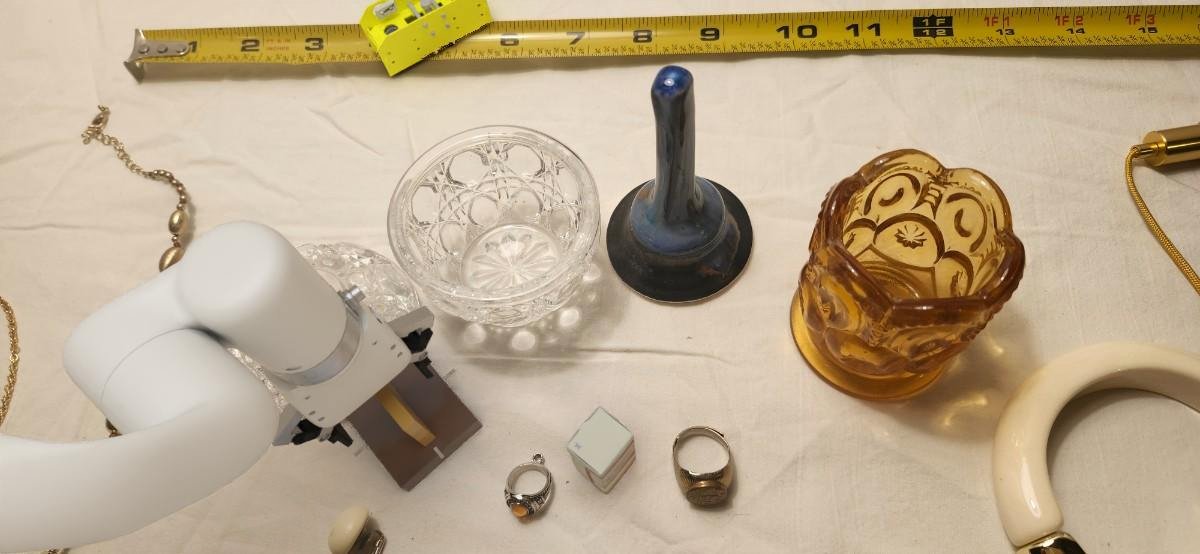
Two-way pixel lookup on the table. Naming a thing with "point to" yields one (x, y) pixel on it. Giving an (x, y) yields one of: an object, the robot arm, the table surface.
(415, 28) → the yellow toy chassis
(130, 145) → the table surface
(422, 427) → the yellow angled block
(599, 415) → the pale grey box
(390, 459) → the stand
